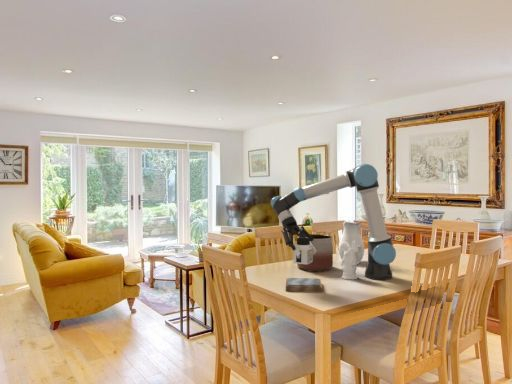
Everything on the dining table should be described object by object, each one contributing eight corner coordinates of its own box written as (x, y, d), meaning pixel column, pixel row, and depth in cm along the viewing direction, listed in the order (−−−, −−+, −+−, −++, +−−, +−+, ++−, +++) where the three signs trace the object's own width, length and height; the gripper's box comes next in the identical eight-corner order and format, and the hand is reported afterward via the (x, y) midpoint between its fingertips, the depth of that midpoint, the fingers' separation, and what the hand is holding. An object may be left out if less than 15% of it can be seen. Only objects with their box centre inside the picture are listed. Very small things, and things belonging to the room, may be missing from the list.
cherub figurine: (337, 276, 228) (337, 238, 227) (355, 274, 232) (355, 237, 232) (349, 281, 216) (349, 240, 216) (368, 279, 221) (368, 239, 220)
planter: (291, 269, 245) (291, 237, 244) (304, 263, 264) (304, 233, 264) (326, 273, 234) (326, 239, 234) (337, 266, 254) (337, 235, 253)
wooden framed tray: (320, 283, 211) (320, 278, 211) (322, 291, 196) (322, 285, 195) (286, 282, 213) (286, 277, 213) (285, 291, 197) (285, 285, 197)
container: (307, 264, 199) (307, 238, 198) (293, 263, 203) (293, 237, 202) (312, 261, 206) (313, 237, 205) (299, 260, 209) (299, 236, 209)
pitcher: (367, 264, 259) (367, 222, 258) (341, 264, 259) (341, 222, 258) (358, 257, 282) (358, 218, 282) (334, 257, 283) (334, 218, 282)
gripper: (300, 223, 223) (319, 255, 210) (267, 226, 210) (286, 260, 197) (306, 214, 218) (326, 247, 206) (273, 217, 205) (293, 251, 193)
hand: (307, 253), depth 201 cm, fingers closed on container, 10 cm apart
